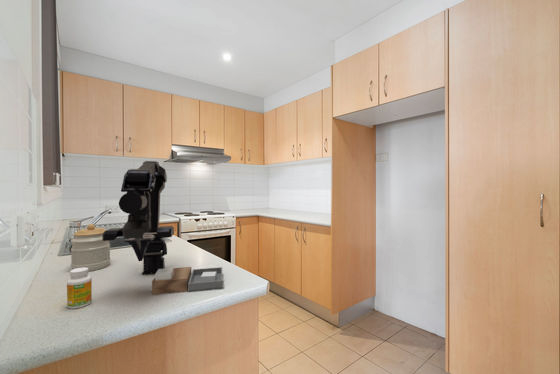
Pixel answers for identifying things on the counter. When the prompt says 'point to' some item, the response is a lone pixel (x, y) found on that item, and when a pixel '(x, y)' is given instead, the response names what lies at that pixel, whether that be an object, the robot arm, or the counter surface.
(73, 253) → the jar
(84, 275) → the supplement bottle
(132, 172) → the robot arm
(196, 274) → the tray
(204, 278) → the tile
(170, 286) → the brown wooden block
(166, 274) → the tile
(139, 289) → the counter surface
